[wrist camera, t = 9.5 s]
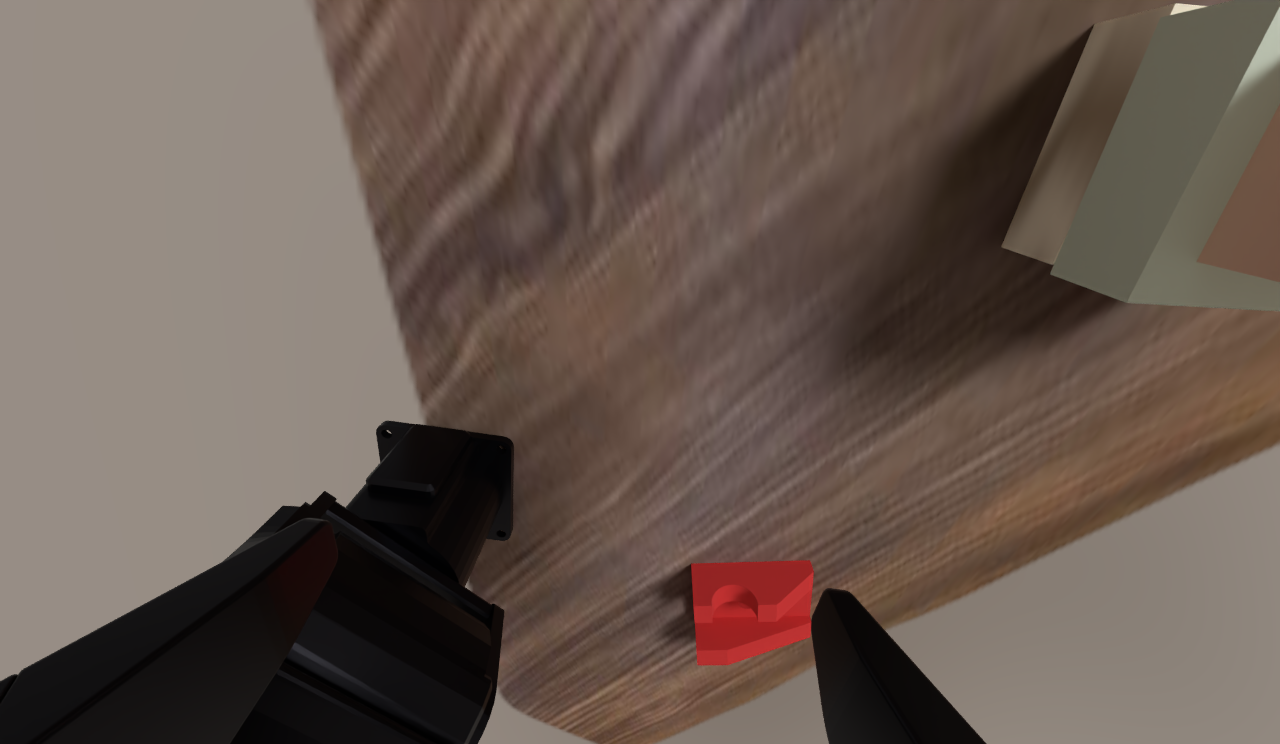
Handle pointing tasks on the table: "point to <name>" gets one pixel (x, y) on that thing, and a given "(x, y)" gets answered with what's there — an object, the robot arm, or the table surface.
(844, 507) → the table surface
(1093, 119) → the block
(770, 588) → the bracket
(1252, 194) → the tan block
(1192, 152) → the tower top
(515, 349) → the table surface
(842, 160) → the table surface
